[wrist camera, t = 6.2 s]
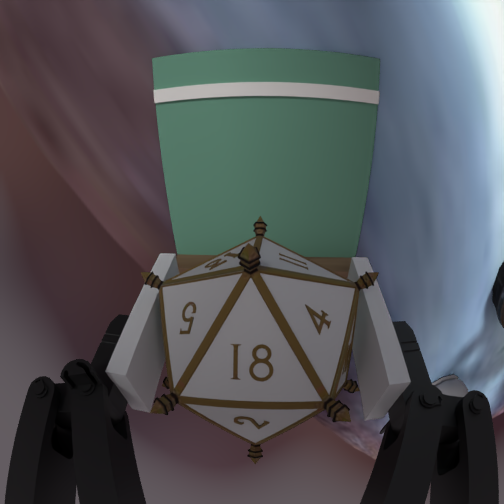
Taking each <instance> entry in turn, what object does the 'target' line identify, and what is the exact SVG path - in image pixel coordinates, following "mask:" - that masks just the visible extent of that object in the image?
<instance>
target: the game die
mask: <svg viewBox="0 0 504 504" xmlns="http://www.w3.org/2000/svg"><path fill="white" fill-rule="evenodd" d="M253 226H254V228H255V229H254V230H253V232H255V234H256V236H255V237H253V238H251V239H249V240H247V241H245V242H243V243H241V244H239V245H237V246H235V247H233V248H231V249H229V250H227V251H225V252H222V253H220V254H218V255H216V256H214V257H212V258H210V259H208V260H206V261H204V262H202V263H200V264H198V265H196V266H194V267H192V268H190V269H188V270H186V271H184V272H182V273H180V274H178V275H176V276H174V277H172V278H170V279H168V280H166V281H161V280H160V279H159V276H158V275H157V276H156V275H155V274H154V273H153V271H152V272H141V274H142V277H143V279H144V281H145V285H149V286H151V287H150V288H152V287H153V288H157V289H158V290H159V299H160V311H161V322H162V333H163V342H164V351H165V359H166V367H167V374H168V378H167V377H165V379H164V381H163V384H162V386H163V387H166V388H167V389H169V388H170V394H169V395H165V394H163V395H162V396H161V398H156V399H155V401H154V406H153V408H152V410H151V412H150V413H159V414H165V415H168V412H169V411H170V410H172V411H173V410H174V406H175V405H176V404H177V403H178V404H179V405H181V406H183V407H184V408H186V409H188V410H189V411H191V412H192V413H194V414H196V415H198V416H199V417H201V418H203V419H205V420H206V421H208V422H210V423H212V424H213V425H216V426H217V427H219V428H221V429H223V430H225V431H226V432H229V433H230V434H232V435H234V436H236V437H238V438H240V439H242V440H244V441H246V442H248V443H250V444H251V448H250V449H249V450H248V451H249V455H248V457H250V458H251V459H252V461H253V462H254V463H255V464H256V462H257V461H258V460H259V459H260V458H261V457H263V456H262V454H261V452H262V449H261V448H260V444H262V443H264V442H266V441H268V440H270V439H272V438H274V437H276V436H278V435H280V434H282V433H284V432H286V431H288V430H290V429H292V428H294V427H295V426H297V425H299V424H301V423H303V422H304V421H306V420H308V419H310V418H312V417H313V416H315V415H317V414H319V413H320V412H322V411H324V410H325V409H326V410H327V412H328V415H327V416H328V417H332V418H333V422H336V421H348V422H351V420H350V415H349V410H350V409H349V408H348V407H347V406H346V405H345V404H344V405H343V404H342V403H341V402H340V401H339V400H338V401H335V399H336V397H337V396H338V394H339V393H340V391H341V390H342V388H344V390H346V391H348V392H350V393H354V392H356V391H360V390H359V388H358V385H357V382H356V381H352V379H351V380H347V376H348V370H349V364H350V358H351V352H352V346H353V339H354V332H355V324H356V316H357V308H358V299H359V291H360V290H361V289H365V288H366V289H368V287H369V286H371V285H372V286H374V282H375V280H376V278H377V276H378V274H379V272H367V271H366V272H365V274H364V275H363V276H361V275H360V278H359V279H358V280H357V281H356V282H353V281H351V280H349V279H347V278H345V277H343V276H341V275H339V274H338V273H336V272H334V271H332V270H330V269H328V268H326V267H324V266H322V265H320V264H318V263H316V262H314V261H312V260H310V259H308V258H306V257H304V256H302V255H300V254H298V253H296V252H294V251H292V250H290V249H288V248H286V247H284V246H282V245H280V244H278V243H276V242H274V241H272V240H270V239H268V238H266V237H264V235H265V232H267V230H266V226H267V224H266V223H265V222H264V221H263V219H262V218H261V216H260V217H259V218H258V220H257V222H255V223H254V225H253Z"/></svg>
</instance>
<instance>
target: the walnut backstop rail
mask: <svg viewBox="0 0 504 504" xmlns="http://www.w3.org/2000/svg"><path fill="white" fill-rule="evenodd" d="M214 256H216V255H183V254H177V257H176V260H177V265H178V270H179V274H180V273H182V272H184V271H186V270H188V269H190V268H192V267H194V266H196V265H198V264H200V263H202V262H204V261H206V260H208V259H210V258H212V257H214ZM306 258H308V259H310V260H312V261H314V262H316V263H318V264H320V265H322V266H324V267H326V268H328V269H330V270H332V271H334V272H336V273H338V274H339V275H341V276H343V277H345V278H348V273H349V269H350V264H351V259H352V258H343V257H306Z"/></svg>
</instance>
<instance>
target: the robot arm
mask: <svg viewBox="0 0 504 504" xmlns="http://www.w3.org/2000/svg"><path fill="white" fill-rule="evenodd" d="M152 271H153V273H154V274H155V275H156V276H157V275H158V276H159V279H160V280H161V281H166V280H168V279H170V278H172V277H174V276H176V275H178V274H179V270H178V265H177V260H176V255H175V254H160V255H159V257H158V259H157V261H156V262H155V264H154V266H153V268H152V270H151V272H152ZM366 271H367V272H373V270H372V267H371V265H370V262H369V260H368V258H367V257H352V259H351V264H350V269H349V273H348V278H347V279H349V280H351V281H353V282H356V281H357V280H358V279H359V278H360V275H361V276H363V275H364V274H365V272H366ZM150 287H151V286H149V285H145V284H144V286H143V288H142V291H141V293H140V295H139V297H138V299H137V301H136V303H135V305H134V307H133V310H132V312H131V314H130V316H127V315H118V316H117V317H116V318H115V319H114V320H113V321H112V322H111V323H110V324H109V327H108V328H107V331H106V334H105V335H104V337H103V339H102V343H100V345H99V347H98V350H97V352H96V354H95V356H94V358H93V360H92V363H91V364H90V363H89V362H88V361H85V360H83V359H76V360H73V361H71V362H69V363H68V364H67V365H66V366H65V367H64V369H63V370H62V372H61V376H60V377H61V378H62V379H63V381H64V382H65V383H58V384H55V383H54V382H53V381H52V380H51V379H50V378H48V377H46V376H43V377H39V378H37V379H35V380H34V381H33V382H32V383H31V385H30V387H29V389H28V392H27V395H26V399H25V402H24V406H23V409H22V413H21V416H20V420H19V424H18V428H17V432H16V437H15V441H14V446H13V450H12V456H11V461H10V467H9V473H8V480H7V487H6V495H5V504H75V497H76V485H77V490H78V496H79V502H80V504H146V501H145V498H144V493H143V490H142V486H141V482H140V477H139V473H138V468H137V464H136V459H135V454H134V449H133V443H132V438H131V432H130V426H129V419H128V415H127V412H126V411H125V409H126V406H127V403H129V405H130V406H131V408H132V409H136V410H141V411H146V412H150V411H151V407H152V403H153V400H154V396H155V392H156V388H157V385H158V382H159V378H160V375H161V371H162V368H163V365H164V361H165V351H164V342H163V333H162V322H161V311H160V299H159V290H158V289H157V288H153V287H152V288H150ZM352 350H353V355H354V360H355V365H356V371H357V376H358V382H359V388H360V394H361V400H362V406H363V413H364V420H371V419H379V418H383V417H384V416H385V415H386V414H387V412H388V413H389V419H390V420H389V421H388V423H387V424H386V425H385V426H384V427H383V428H382V430H381V431H380V434H382V433H383V432H384V431H385V432H384V436H383V439H382V443H381V446H380V449H379V452H378V456H377V459H376V462H375V465H374V468H373V471H372V474H371V476H370V479H369V482H368V484H367V488H366V490H365V492H364V495H363V497H362V500H361V503H360V504H425V500H426V497H427V494H428V490H429V486H430V482H431V493H430V504H499V501H498V500H499V495H498V494H499V490H498V467H497V454H496V444H495V436H494V429H493V422H492V416H491V410H490V405H489V402H488V399H487V398H486V396H485V395H484V394H483V393H481V392H479V391H475V390H473V391H470V392H468V393H467V394H466V395H465V396H464V397H457V396H450V395H445V394H442V392H441V390H440V389H438V388H437V387H436V386H434V385H432V383H431V381H430V378H429V375H428V372H427V368H426V365H425V363H424V360H423V357H422V354H421V351H420V348H419V345H418V343H417V340H416V337H415V335H414V332H413V330H412V329H411V328H410V326H409V325H408V324H407V323H406V322H405V321H399V322H392V320H391V318H390V315H389V312H388V309H387V306H386V304H385V301H384V298H383V295H382V293H381V290H380V288H379V285H378V282H377V280H375V282H374V286H372V285H371V286H369V287H368V289H366V288H365V289H361V290H360V291H359V299H358V308H357V316H356V324H355V332H354V339H353V346H352Z"/></svg>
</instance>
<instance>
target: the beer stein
mask: <svg viewBox="0 0 504 504" xmlns="http://www.w3.org/2000/svg"><path fill="white" fill-rule="evenodd" d="M492 301H493V304H494V306H495V308H496V312H497V316H498V319H499V322H500V323H501V325H502V326H503V328H504V262H503V263H502V265H501V267H500V268H499V271H498V274H497V277H496V281H495V284H494V286H493V296H492Z"/></svg>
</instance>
